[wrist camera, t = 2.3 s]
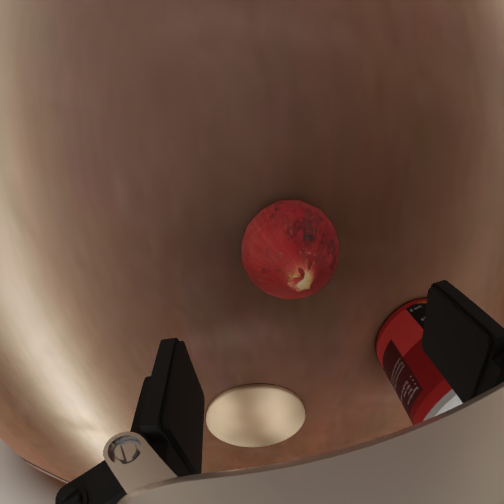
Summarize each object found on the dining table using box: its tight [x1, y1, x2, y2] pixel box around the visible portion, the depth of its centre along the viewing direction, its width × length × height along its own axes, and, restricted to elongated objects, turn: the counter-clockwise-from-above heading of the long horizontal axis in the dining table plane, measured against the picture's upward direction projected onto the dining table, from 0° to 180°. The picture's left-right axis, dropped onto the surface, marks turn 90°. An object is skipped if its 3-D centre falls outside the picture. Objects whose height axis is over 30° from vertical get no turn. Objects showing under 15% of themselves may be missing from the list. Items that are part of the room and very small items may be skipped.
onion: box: [241, 200, 340, 299], centre depth 18 cm, size 6×6×8 cm
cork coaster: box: [206, 384, 305, 447], centre depth 29 cm, size 10×10×1 cm
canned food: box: [376, 299, 463, 425], centre depth 21 cm, size 8×8×11 cm
